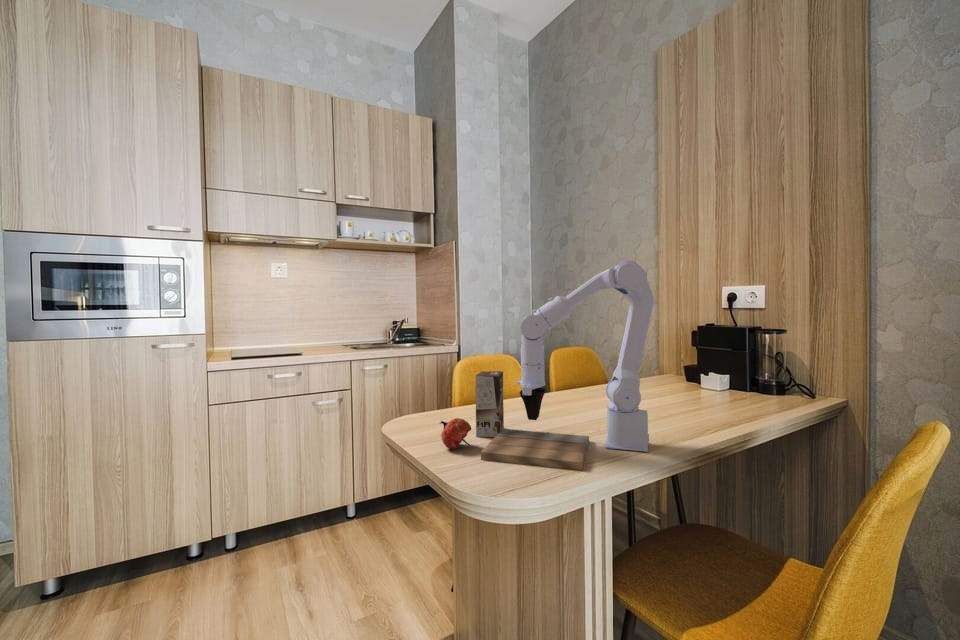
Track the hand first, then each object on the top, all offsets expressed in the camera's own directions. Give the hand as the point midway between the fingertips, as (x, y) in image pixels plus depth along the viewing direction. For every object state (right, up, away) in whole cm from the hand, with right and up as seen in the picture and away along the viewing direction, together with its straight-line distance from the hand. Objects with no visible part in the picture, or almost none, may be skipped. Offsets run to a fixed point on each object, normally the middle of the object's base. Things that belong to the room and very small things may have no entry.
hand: (533, 418), depth 105 cm
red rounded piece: (-19, -7, -2) cm, 20 cm away
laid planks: (-1, -7, -8) cm, 10 cm away
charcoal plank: (+2, -6, +1) cm, 7 cm away
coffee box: (-10, -6, +10) cm, 16 cm away
